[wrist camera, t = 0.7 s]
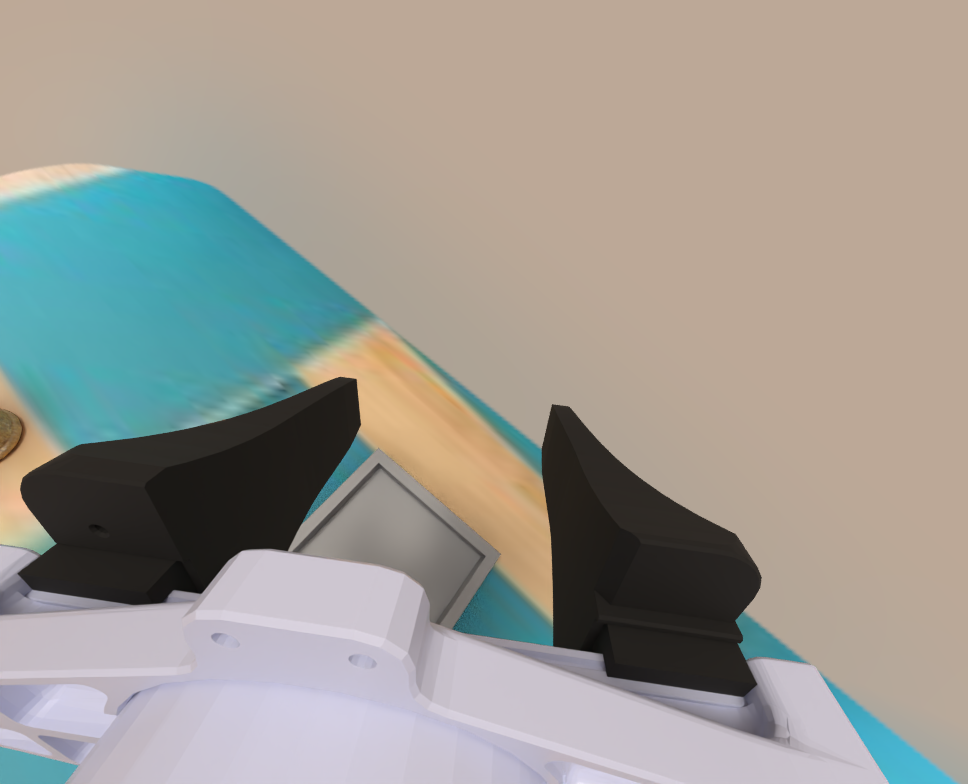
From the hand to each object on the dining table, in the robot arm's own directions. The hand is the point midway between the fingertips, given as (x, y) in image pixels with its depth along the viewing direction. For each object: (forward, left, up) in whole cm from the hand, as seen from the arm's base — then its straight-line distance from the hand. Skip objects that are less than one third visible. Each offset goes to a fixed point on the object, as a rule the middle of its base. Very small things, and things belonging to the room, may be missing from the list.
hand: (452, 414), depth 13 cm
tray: (-7, -1, -17) cm, 19 cm away
